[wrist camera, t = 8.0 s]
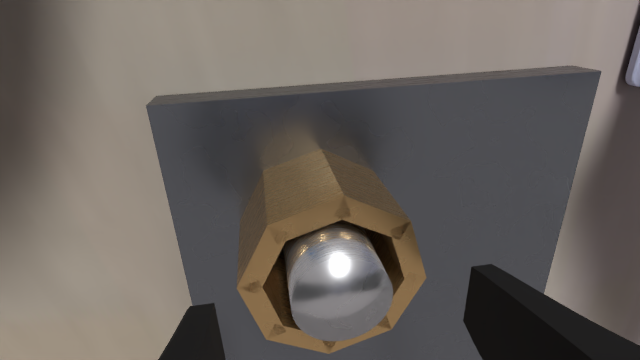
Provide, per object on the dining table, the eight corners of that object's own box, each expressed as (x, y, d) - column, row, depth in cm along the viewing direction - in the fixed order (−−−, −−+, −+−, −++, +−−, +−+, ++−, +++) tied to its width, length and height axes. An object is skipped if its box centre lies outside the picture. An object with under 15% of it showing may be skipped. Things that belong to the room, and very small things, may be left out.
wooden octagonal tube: (406, 184, 16) (453, 237, 12) (344, 288, 17) (369, 363, 14) (280, 131, 14) (291, 175, 10) (224, 254, 16) (217, 328, 12)
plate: (572, 65, 16) (751, 98, 10) (504, 364, 24) (587, 481, 18) (156, 96, 14) (89, 159, 8) (226, 415, 22) (217, 566, 16)
